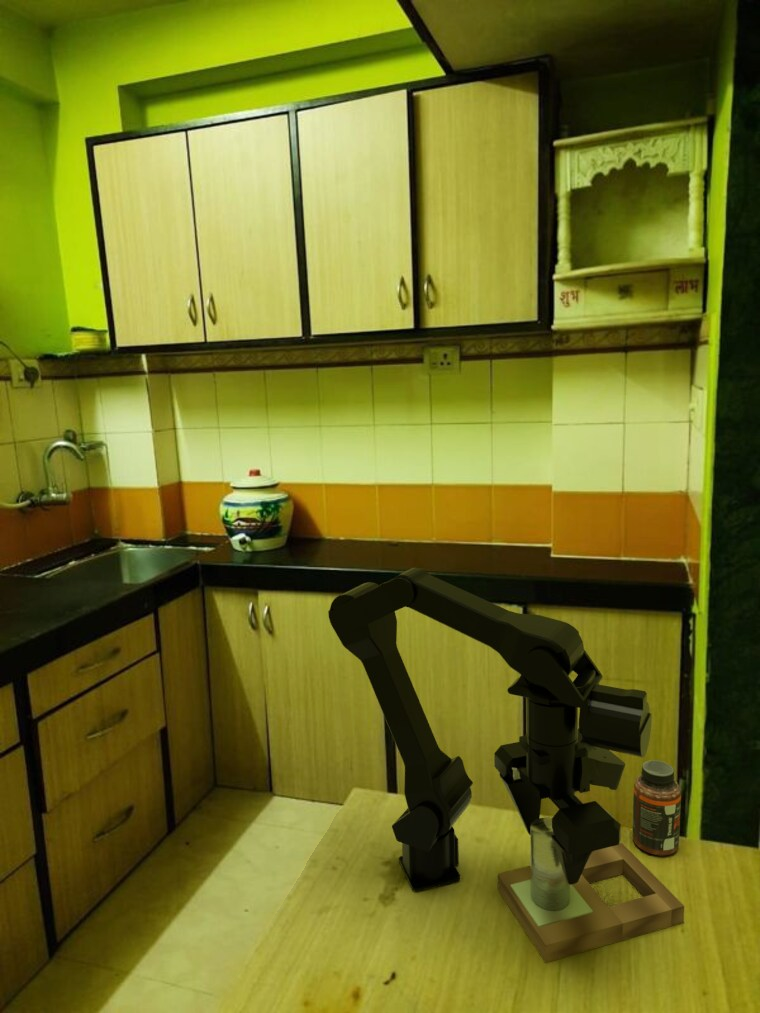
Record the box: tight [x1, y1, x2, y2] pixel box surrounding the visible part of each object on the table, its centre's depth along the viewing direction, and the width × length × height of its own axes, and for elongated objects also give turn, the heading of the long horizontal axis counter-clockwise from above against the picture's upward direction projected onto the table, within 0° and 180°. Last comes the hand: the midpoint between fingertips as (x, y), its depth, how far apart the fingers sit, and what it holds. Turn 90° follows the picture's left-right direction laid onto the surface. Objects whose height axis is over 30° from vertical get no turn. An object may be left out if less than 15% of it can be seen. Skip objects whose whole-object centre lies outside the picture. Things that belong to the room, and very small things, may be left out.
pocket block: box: [497, 842, 685, 963], centre depth 86 cm, size 18×12×2 cm, turn 106°
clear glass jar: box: [529, 816, 570, 911], centre depth 83 cm, size 4×4×9 cm
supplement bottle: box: [632, 759, 682, 857], centre depth 96 cm, size 6×6×11 cm
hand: (551, 857), depth 83 cm, fingers open, 9 cm apart
